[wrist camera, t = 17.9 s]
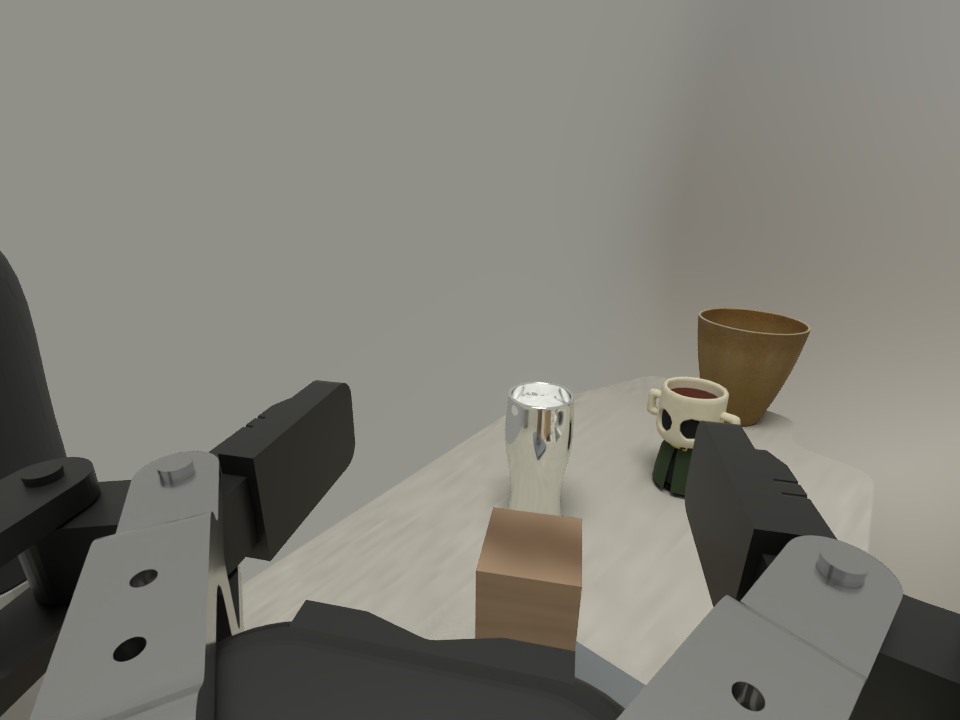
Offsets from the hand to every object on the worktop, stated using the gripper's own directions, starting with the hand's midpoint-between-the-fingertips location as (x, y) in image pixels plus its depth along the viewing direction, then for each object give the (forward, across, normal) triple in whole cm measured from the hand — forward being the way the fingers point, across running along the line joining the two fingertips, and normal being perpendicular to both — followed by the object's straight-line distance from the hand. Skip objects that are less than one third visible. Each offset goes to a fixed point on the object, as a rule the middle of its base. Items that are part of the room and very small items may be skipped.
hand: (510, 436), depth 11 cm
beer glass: (+36, +1, +30) cm, 47 cm away
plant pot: (+68, -27, +30) cm, 79 cm away
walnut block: (+11, 0, +28) cm, 30 cm away
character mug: (+46, -15, +30) cm, 57 cm away
